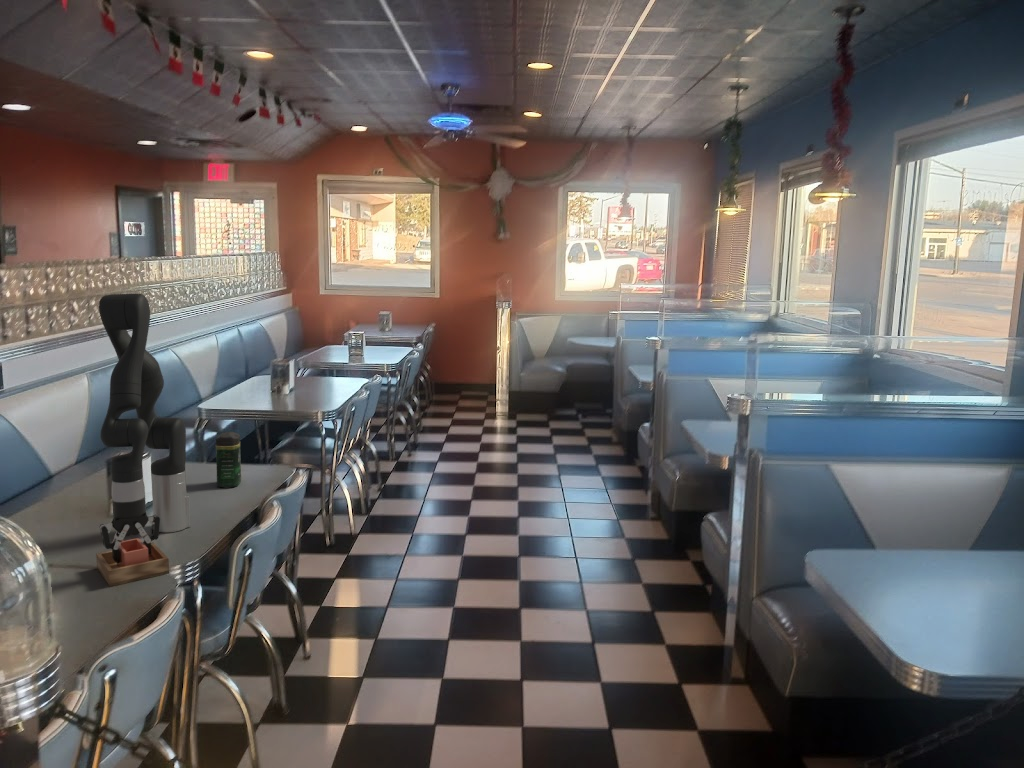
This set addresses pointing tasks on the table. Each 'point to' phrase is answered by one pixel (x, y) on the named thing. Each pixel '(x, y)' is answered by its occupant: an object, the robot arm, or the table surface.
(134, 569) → the wooden crate
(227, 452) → the coffee jar
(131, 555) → the red open box
